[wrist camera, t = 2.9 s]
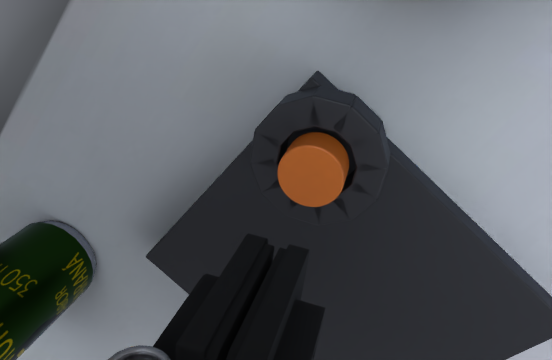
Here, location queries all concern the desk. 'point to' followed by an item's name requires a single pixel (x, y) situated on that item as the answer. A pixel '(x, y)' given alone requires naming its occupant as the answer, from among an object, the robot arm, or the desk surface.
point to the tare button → (313, 169)
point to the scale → (365, 244)
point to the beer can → (40, 281)
